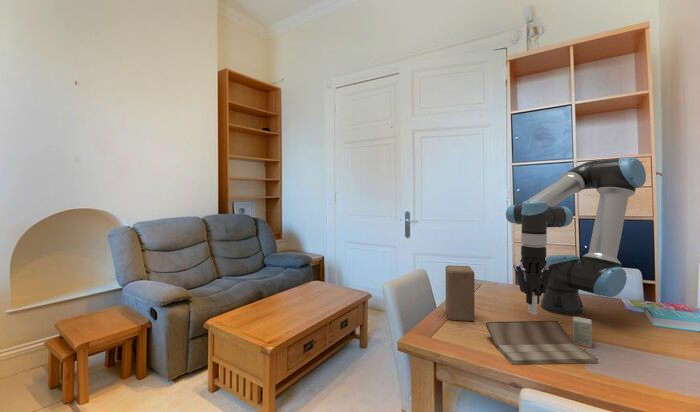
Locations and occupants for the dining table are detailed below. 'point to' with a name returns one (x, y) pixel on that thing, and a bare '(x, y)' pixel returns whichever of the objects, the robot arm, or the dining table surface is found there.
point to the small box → (582, 331)
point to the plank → (527, 333)
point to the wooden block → (460, 293)
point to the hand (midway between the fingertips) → (532, 313)
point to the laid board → (546, 354)
